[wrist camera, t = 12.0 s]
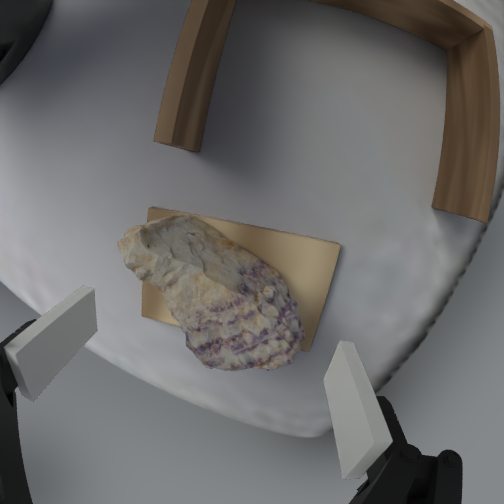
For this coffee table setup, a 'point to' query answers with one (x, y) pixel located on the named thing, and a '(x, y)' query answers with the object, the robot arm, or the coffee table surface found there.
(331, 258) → the mat
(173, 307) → the mineral specimen
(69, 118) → the coffee table surface
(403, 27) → the brown open u-shaped frame
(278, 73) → the coffee table surface
